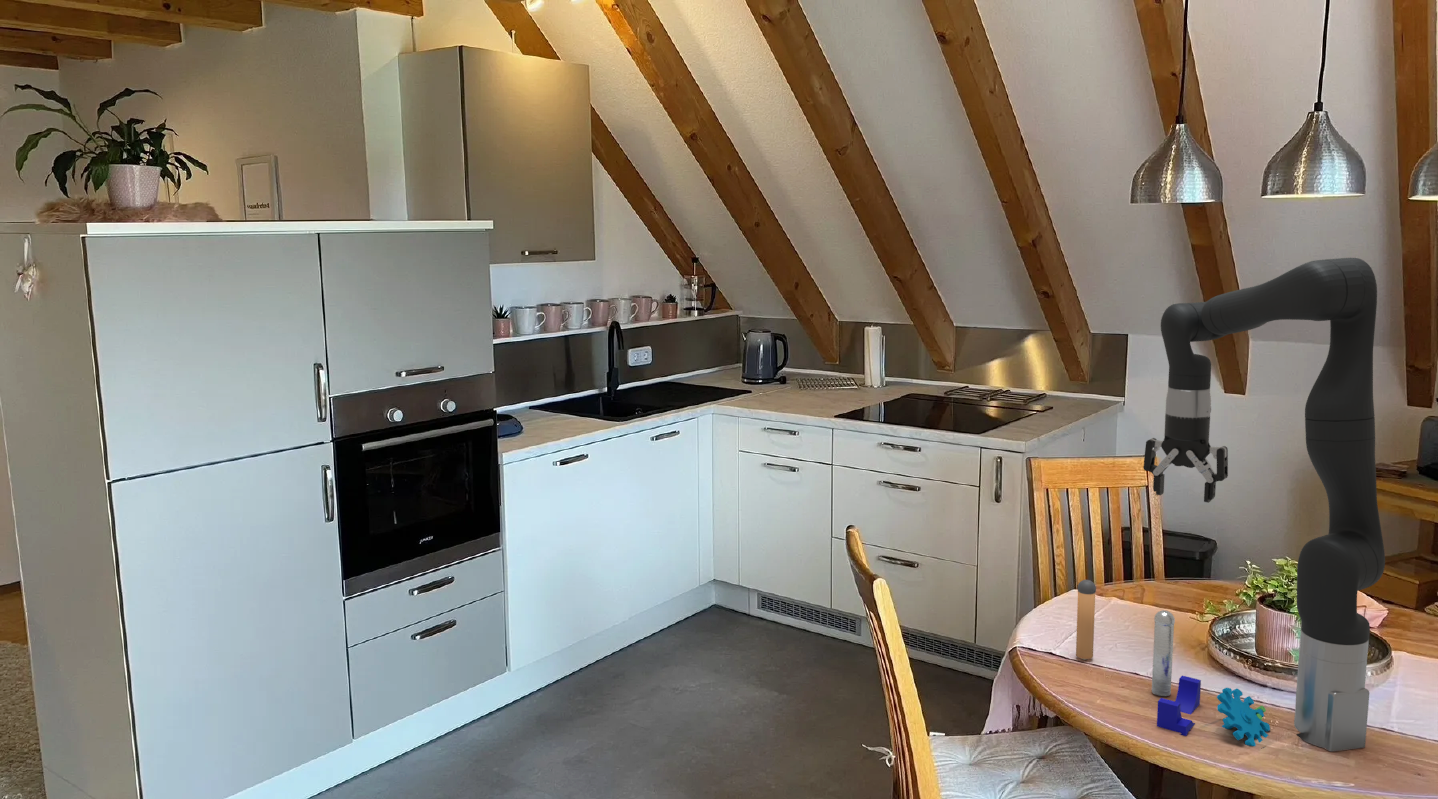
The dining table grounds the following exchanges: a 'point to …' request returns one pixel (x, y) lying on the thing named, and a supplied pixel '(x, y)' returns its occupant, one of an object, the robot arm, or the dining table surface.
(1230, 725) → the gear
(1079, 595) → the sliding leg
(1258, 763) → the dining table surface
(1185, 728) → the cable clip
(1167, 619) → the fixed leg
